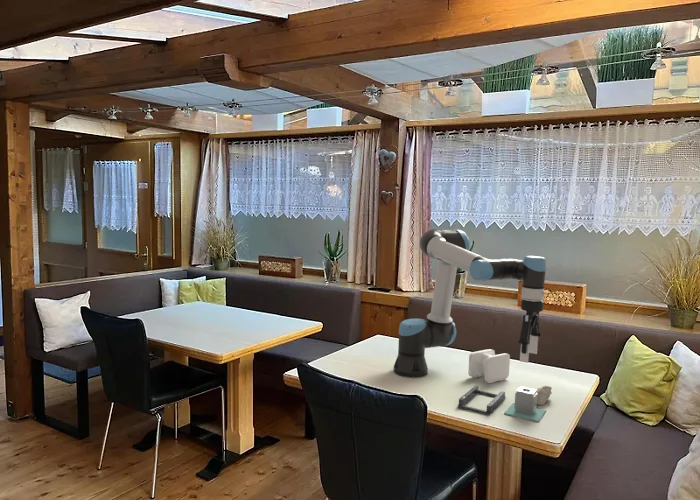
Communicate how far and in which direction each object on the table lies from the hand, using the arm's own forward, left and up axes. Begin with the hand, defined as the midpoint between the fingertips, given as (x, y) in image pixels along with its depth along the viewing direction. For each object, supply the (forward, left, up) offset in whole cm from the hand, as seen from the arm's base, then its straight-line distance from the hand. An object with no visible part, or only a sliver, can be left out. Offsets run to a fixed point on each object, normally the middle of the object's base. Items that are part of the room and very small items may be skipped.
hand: (528, 357), depth 191 cm
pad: (0, 0, -21) cm, 21 cm away
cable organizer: (-23, +30, -21) cm, 43 cm away
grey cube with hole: (0, 0, -20) cm, 20 cm away
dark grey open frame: (-16, 0, -21) cm, 26 cm away
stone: (+1, +15, -21) cm, 26 cm away
